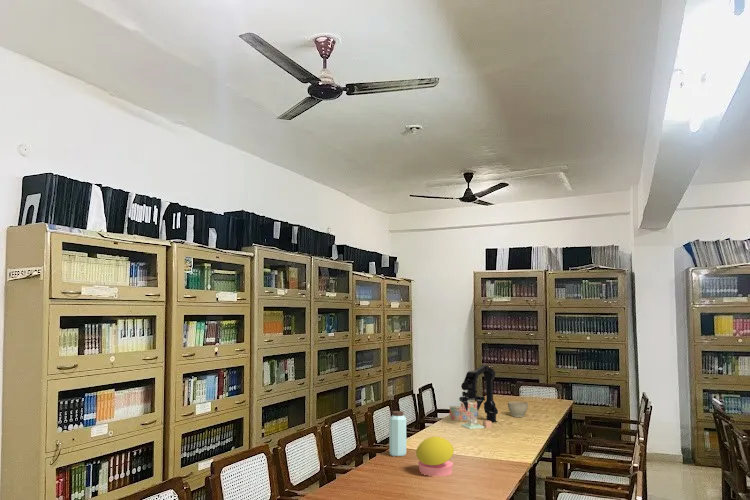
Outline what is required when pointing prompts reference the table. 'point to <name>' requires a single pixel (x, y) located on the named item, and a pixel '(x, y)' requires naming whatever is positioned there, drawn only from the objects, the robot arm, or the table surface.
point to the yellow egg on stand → (435, 456)
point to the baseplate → (472, 426)
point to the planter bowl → (517, 408)
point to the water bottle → (397, 434)
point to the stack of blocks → (464, 411)
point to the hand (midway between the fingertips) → (472, 410)
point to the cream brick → (472, 421)
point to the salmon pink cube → (487, 424)
